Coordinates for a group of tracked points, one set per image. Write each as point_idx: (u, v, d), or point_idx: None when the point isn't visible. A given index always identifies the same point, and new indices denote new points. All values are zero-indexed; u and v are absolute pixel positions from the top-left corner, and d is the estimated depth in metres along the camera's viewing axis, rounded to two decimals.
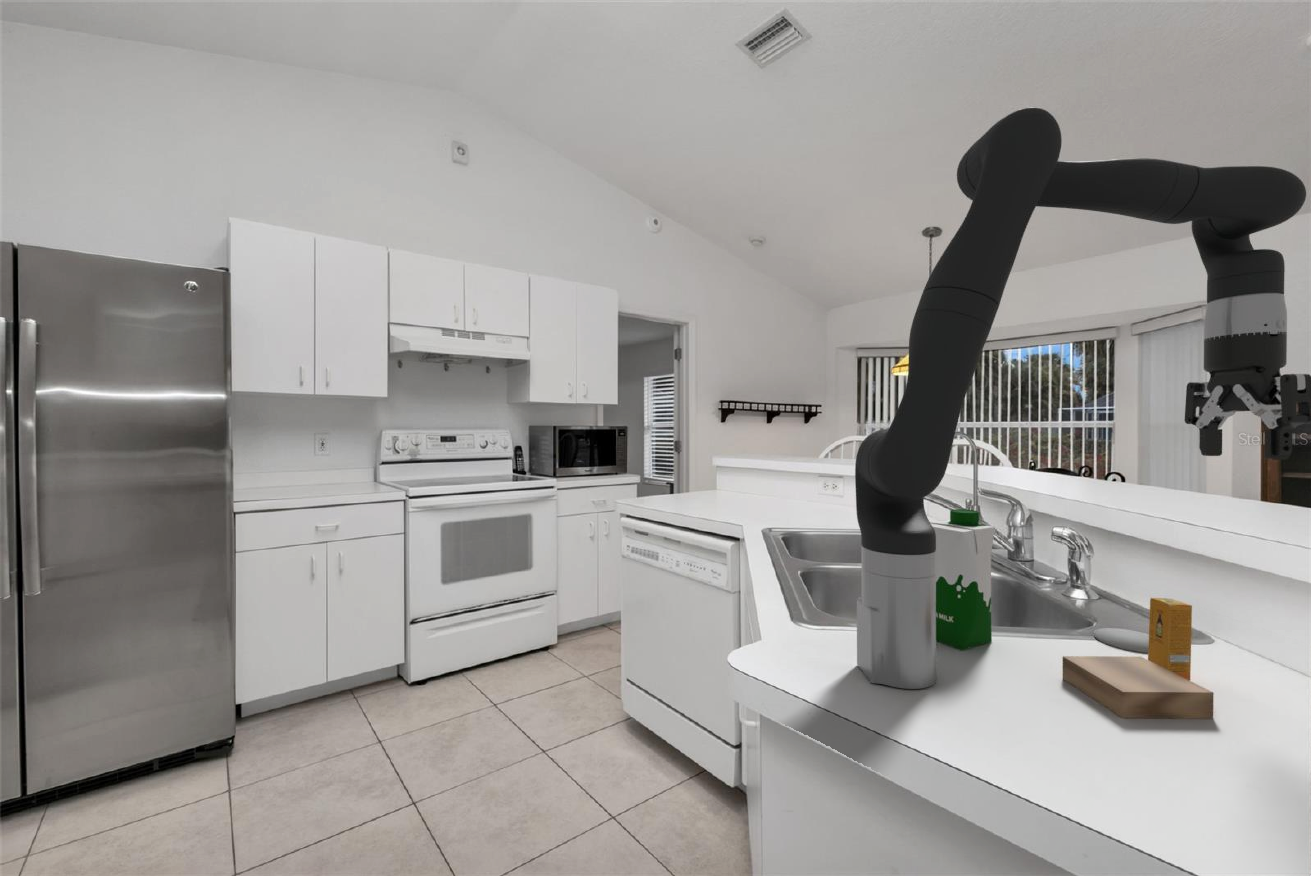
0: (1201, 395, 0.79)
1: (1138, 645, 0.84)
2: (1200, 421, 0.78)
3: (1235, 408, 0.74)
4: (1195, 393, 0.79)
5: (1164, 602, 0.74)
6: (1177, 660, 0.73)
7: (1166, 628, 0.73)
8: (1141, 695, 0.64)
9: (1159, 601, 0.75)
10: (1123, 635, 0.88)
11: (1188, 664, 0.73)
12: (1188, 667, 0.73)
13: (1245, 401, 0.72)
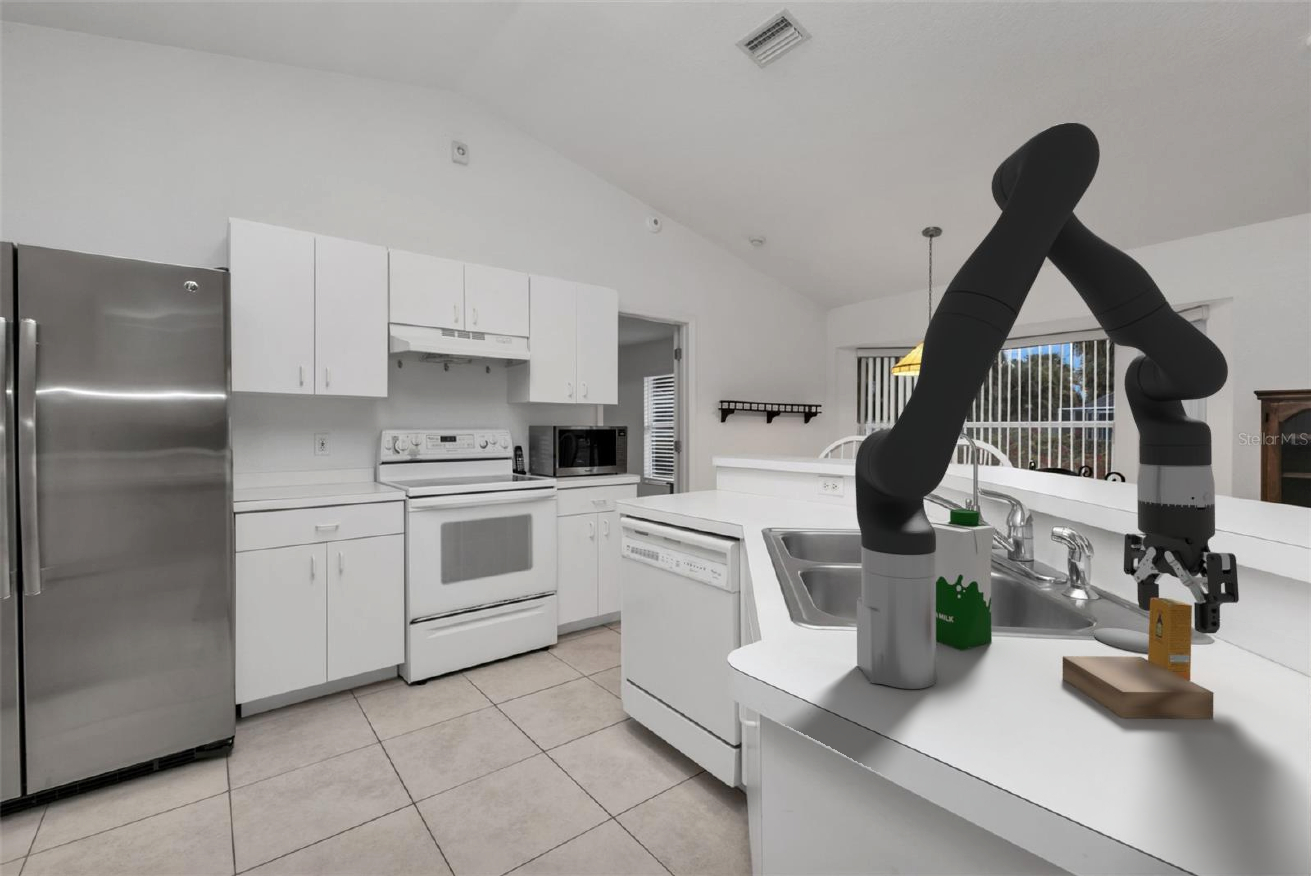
0: (1138, 548, 0.80)
1: (1138, 645, 0.84)
2: (1137, 575, 0.79)
3: (1168, 572, 0.74)
4: (1132, 546, 0.80)
5: (1164, 602, 0.74)
6: (1177, 660, 0.73)
7: (1166, 628, 0.73)
8: (1141, 695, 0.64)
9: (1159, 601, 0.75)
10: (1123, 635, 0.88)
11: (1188, 664, 0.73)
12: (1188, 667, 0.73)
13: (1175, 570, 0.72)
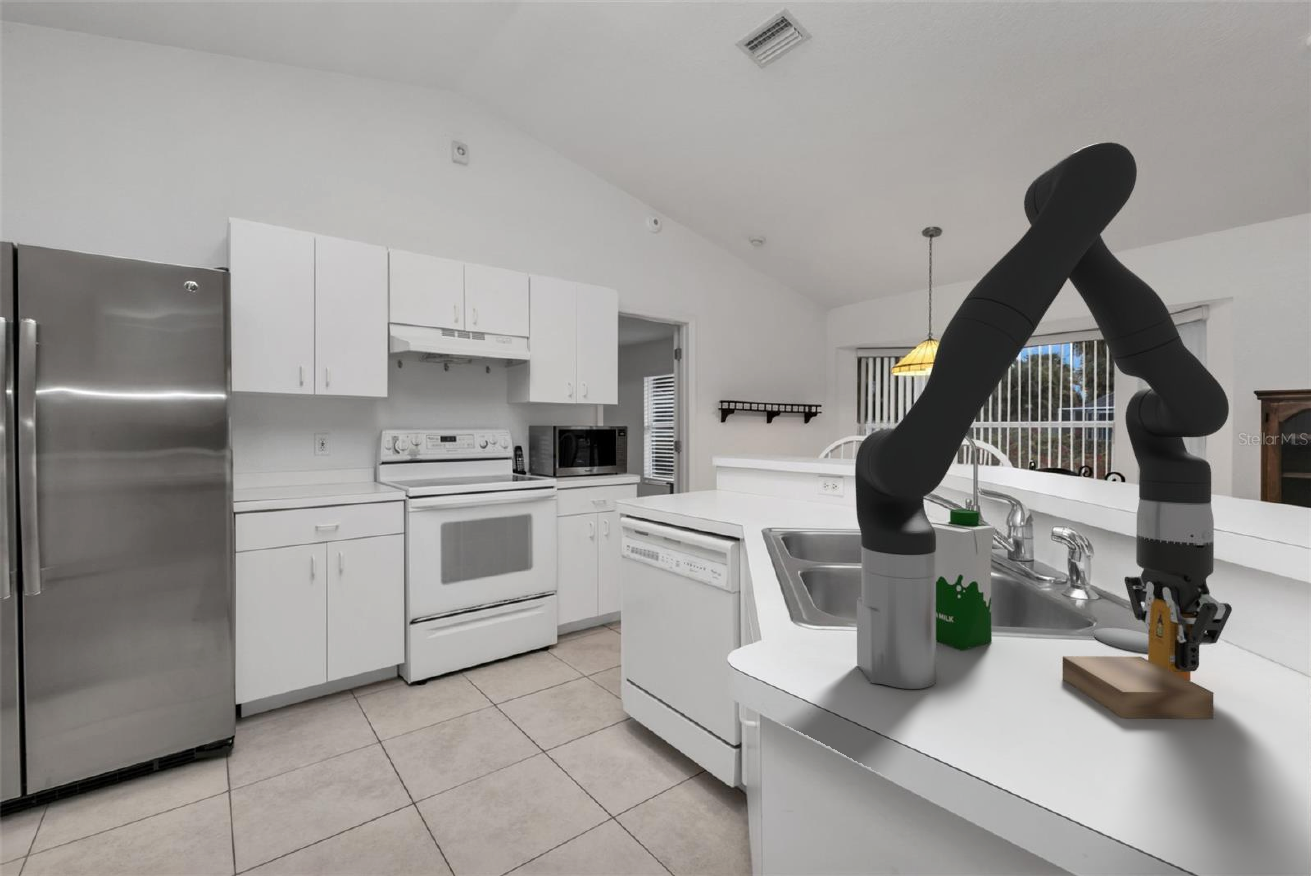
0: (1140, 589, 0.79)
1: (1138, 645, 0.84)
2: (1149, 622, 0.77)
3: None
4: (1134, 587, 0.79)
5: (1165, 602, 0.74)
6: None
7: (1167, 628, 0.73)
8: (1141, 695, 0.64)
9: (1160, 601, 0.75)
10: (1123, 635, 0.88)
11: None
12: None
13: (1168, 605, 0.73)
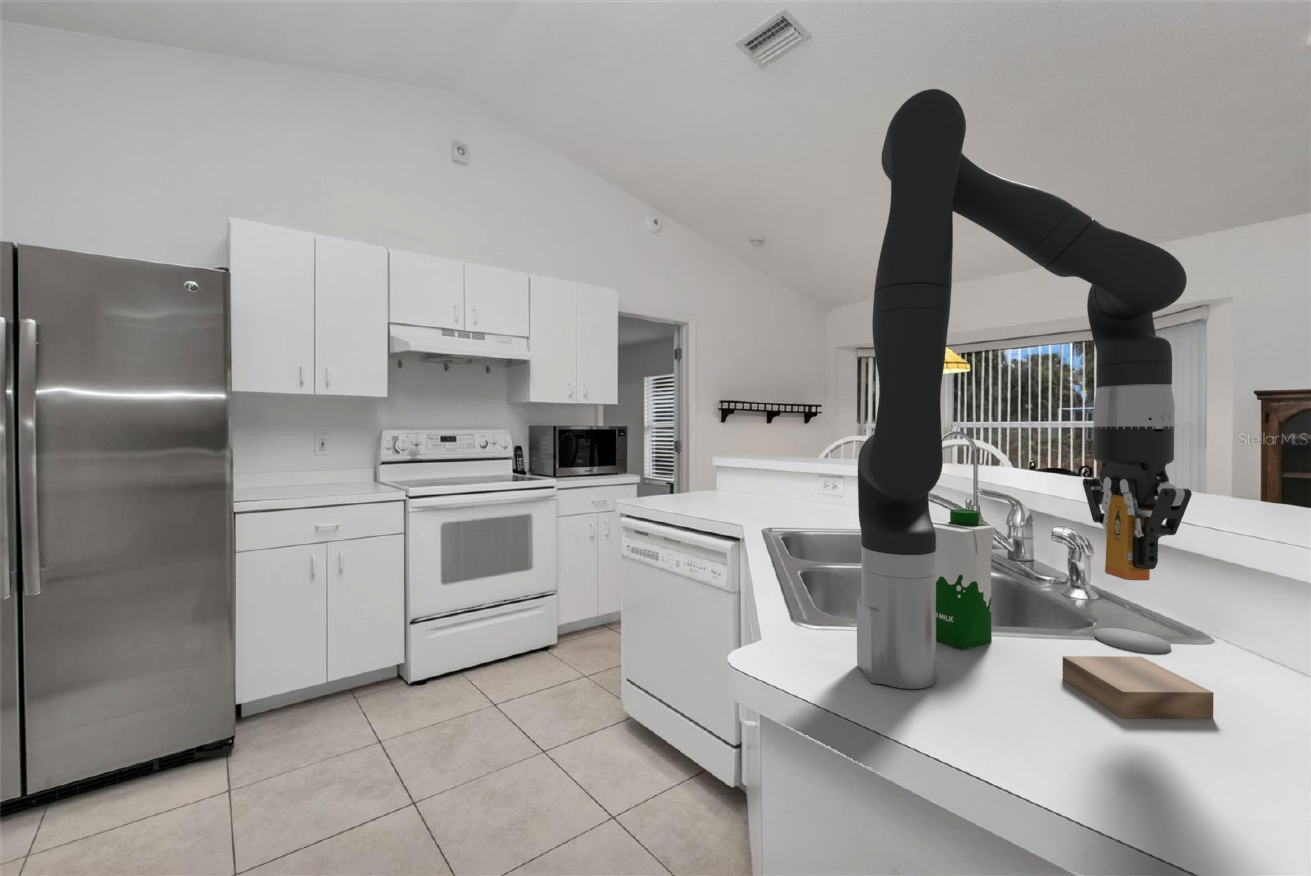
0: (1099, 490, 0.73)
1: (1138, 645, 0.84)
2: (1106, 522, 0.71)
3: None
4: (1092, 488, 0.74)
5: (1123, 496, 0.68)
6: None
7: (1124, 523, 0.68)
8: (1141, 695, 0.64)
9: (1117, 496, 0.69)
10: (1123, 635, 0.88)
11: None
12: None
13: (1125, 499, 0.68)
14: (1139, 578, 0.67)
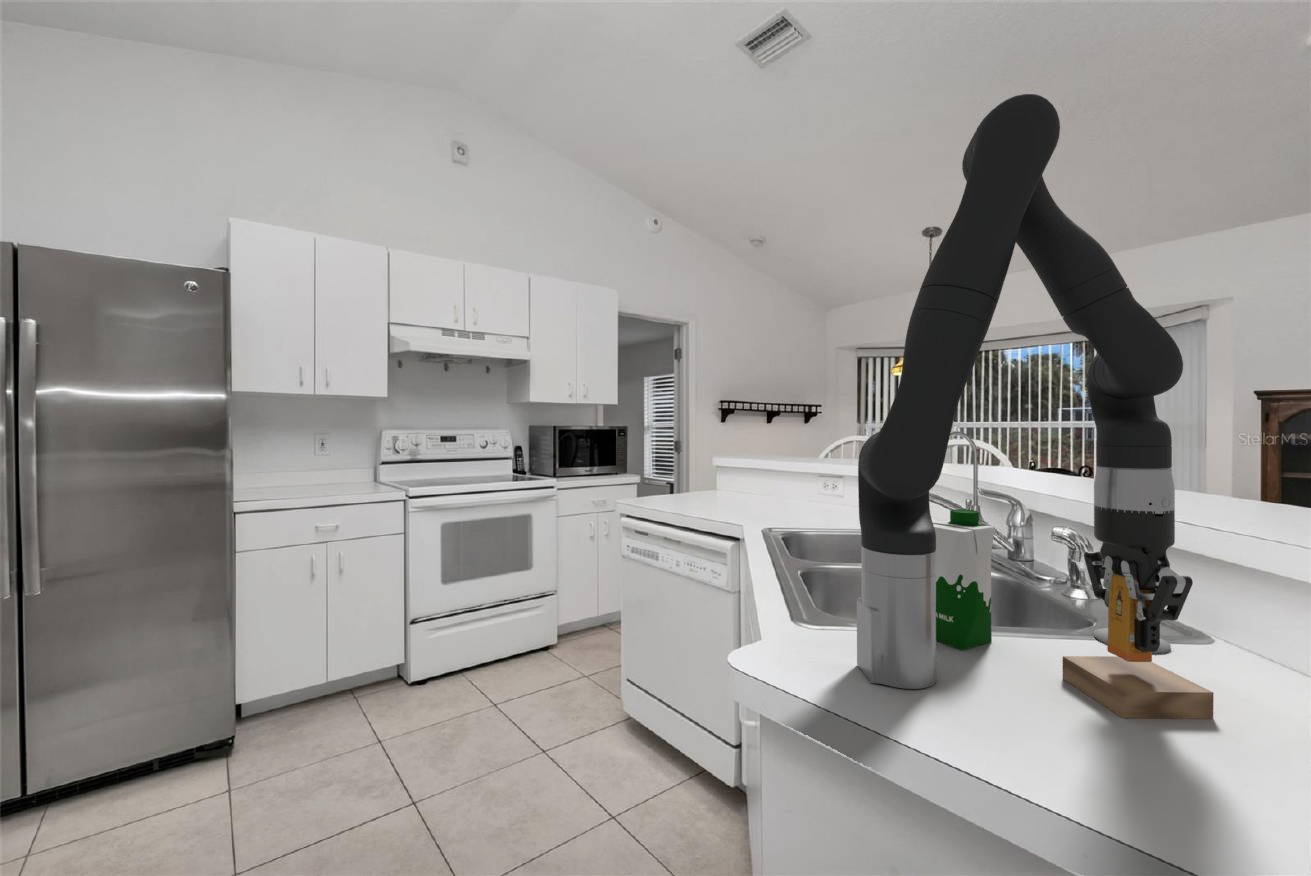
0: (1100, 565, 0.73)
1: None
2: (1108, 599, 0.71)
3: None
4: (1093, 563, 0.74)
5: (1124, 577, 0.68)
6: None
7: (1126, 605, 0.68)
8: (1141, 695, 0.64)
9: (1119, 576, 0.69)
10: None
11: None
12: None
13: (1126, 581, 0.68)
14: (1141, 660, 0.67)
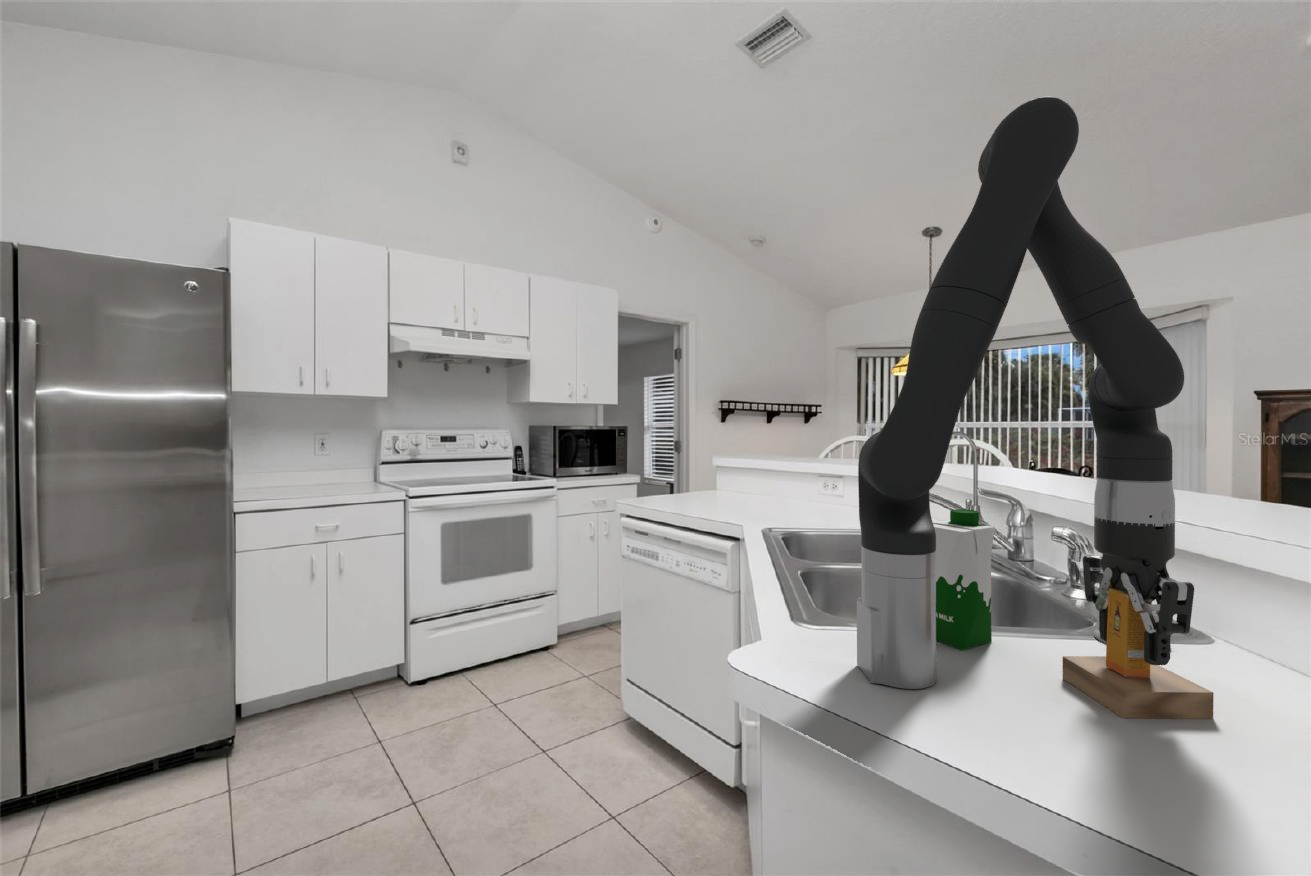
0: (1097, 571, 0.74)
1: None
2: (1099, 603, 0.73)
3: None
4: (1091, 569, 0.74)
5: (1122, 593, 0.69)
6: (1135, 655, 0.67)
7: (1124, 620, 0.68)
8: (1141, 695, 0.64)
9: (1117, 592, 0.69)
10: None
11: None
12: (1148, 663, 0.67)
13: (1129, 593, 0.67)
14: (1140, 676, 0.67)
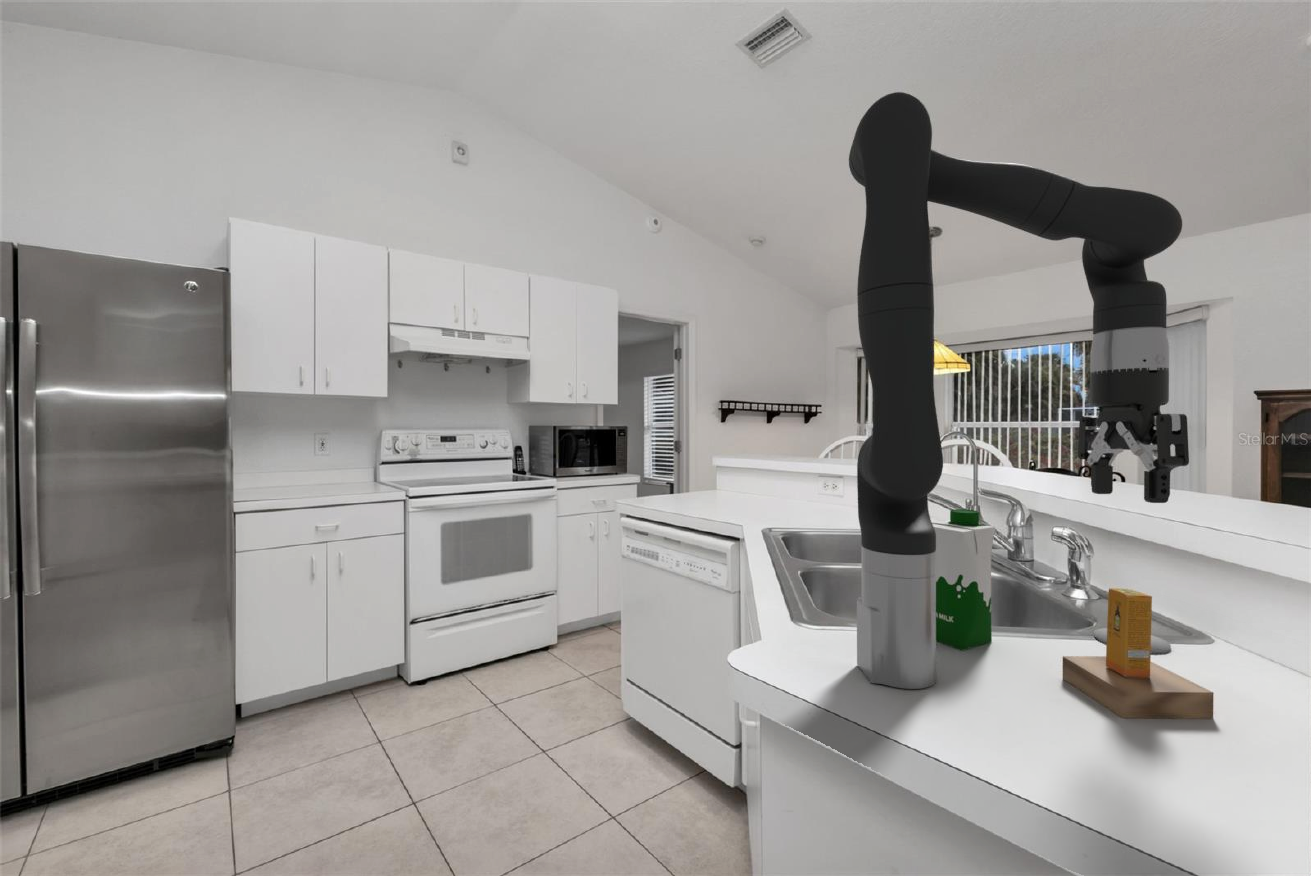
0: (1092, 430, 0.76)
1: None
2: (1090, 457, 0.75)
3: (1119, 446, 0.70)
4: (1086, 428, 0.76)
5: (1122, 593, 0.69)
6: (1135, 655, 0.67)
7: (1124, 620, 0.68)
8: (1141, 695, 0.64)
9: (1117, 592, 0.69)
10: None
11: (1148, 660, 0.67)
12: (1148, 663, 0.67)
13: (1126, 440, 0.68)
14: (1139, 676, 0.67)
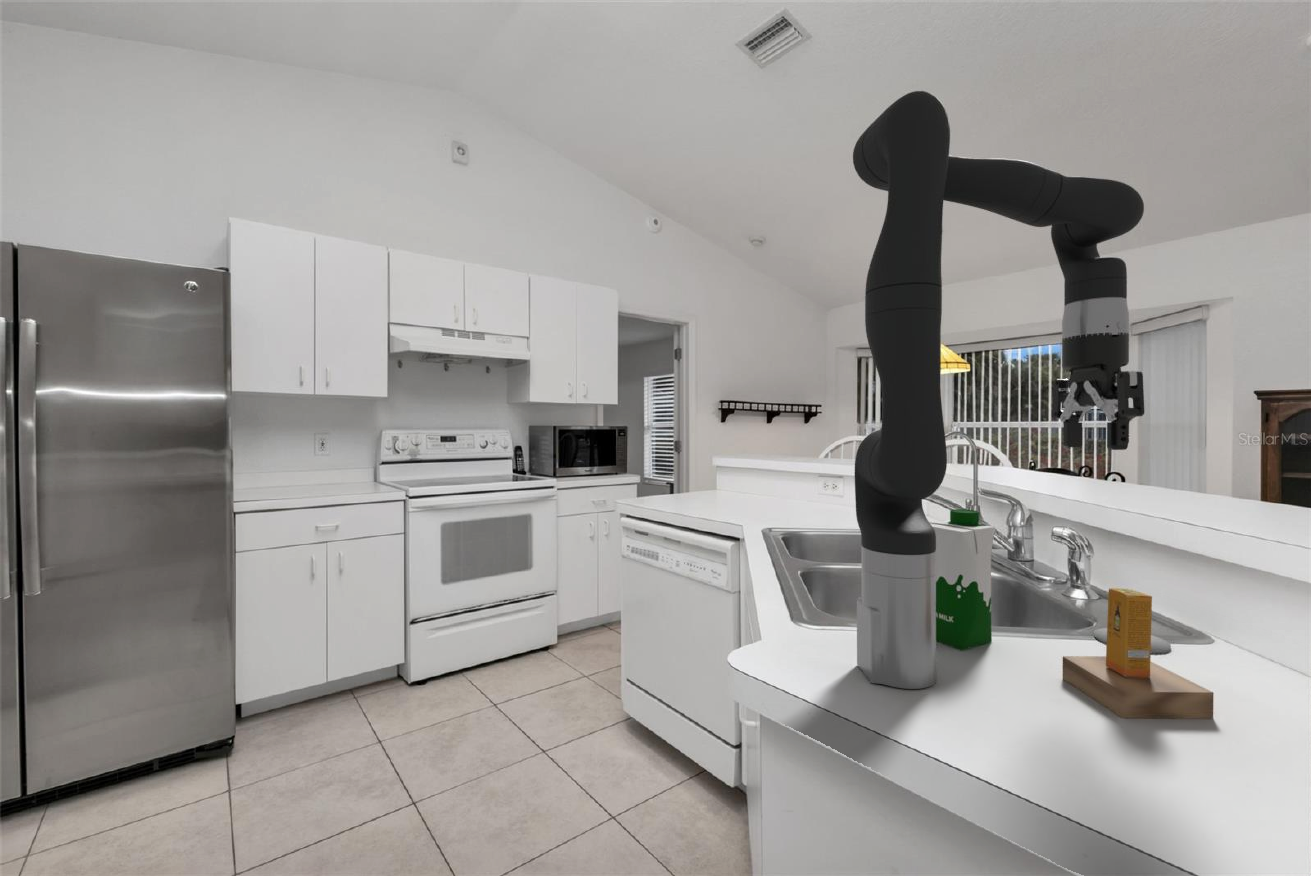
0: (1065, 391, 0.86)
1: None
2: (1063, 415, 0.85)
3: (1087, 403, 0.80)
4: (1059, 389, 0.86)
5: (1122, 593, 0.69)
6: (1135, 655, 0.67)
7: (1124, 620, 0.68)
8: (1141, 695, 0.64)
9: (1117, 592, 0.69)
10: None
11: (1148, 660, 0.67)
12: (1148, 663, 0.67)
13: (1092, 396, 0.78)
14: (1139, 676, 0.67)
